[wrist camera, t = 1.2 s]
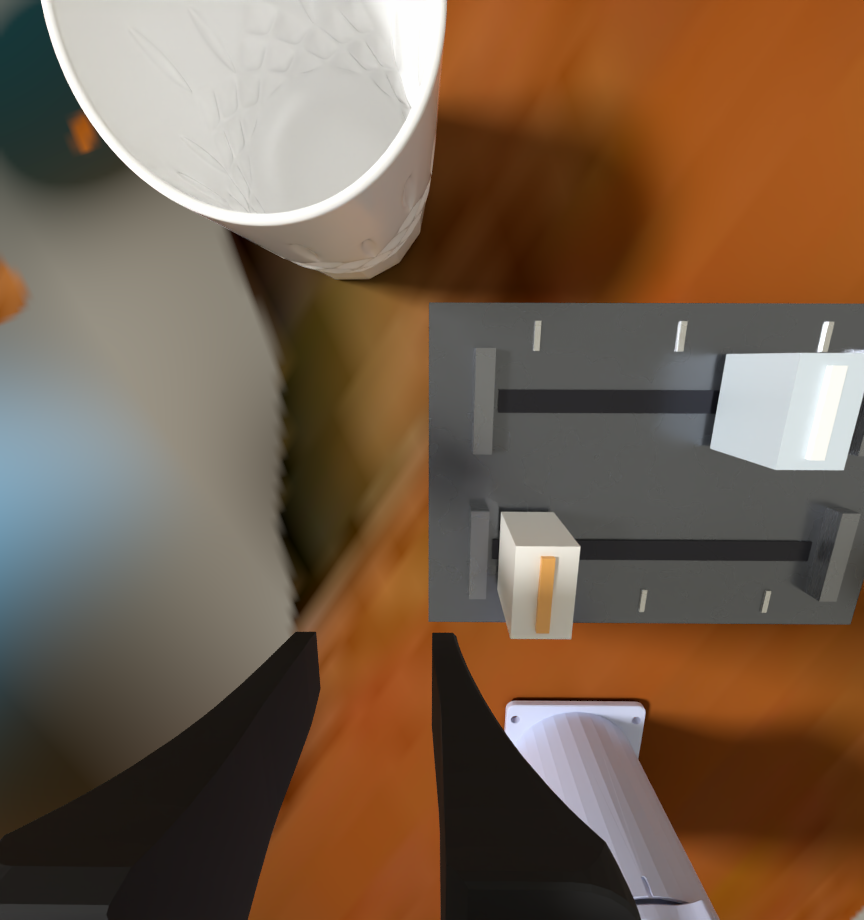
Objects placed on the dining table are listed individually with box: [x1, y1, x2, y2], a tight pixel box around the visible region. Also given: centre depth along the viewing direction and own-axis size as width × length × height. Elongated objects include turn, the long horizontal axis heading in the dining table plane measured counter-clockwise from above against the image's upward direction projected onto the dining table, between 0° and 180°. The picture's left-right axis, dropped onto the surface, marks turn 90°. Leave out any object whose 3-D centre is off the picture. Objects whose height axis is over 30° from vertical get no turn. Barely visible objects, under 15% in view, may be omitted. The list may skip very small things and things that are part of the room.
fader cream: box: [497, 512, 580, 639], centre depth 17 cm, size 4×2×4 cm, turn 0°
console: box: [429, 303, 864, 624], centre depth 19 cm, size 15×21×3 cm
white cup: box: [41, 0, 447, 280], centre depth 13 cm, size 8×8×10 cm
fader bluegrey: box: [710, 353, 864, 470], centre depth 15 cm, size 4×2×4 cm, turn 0°
